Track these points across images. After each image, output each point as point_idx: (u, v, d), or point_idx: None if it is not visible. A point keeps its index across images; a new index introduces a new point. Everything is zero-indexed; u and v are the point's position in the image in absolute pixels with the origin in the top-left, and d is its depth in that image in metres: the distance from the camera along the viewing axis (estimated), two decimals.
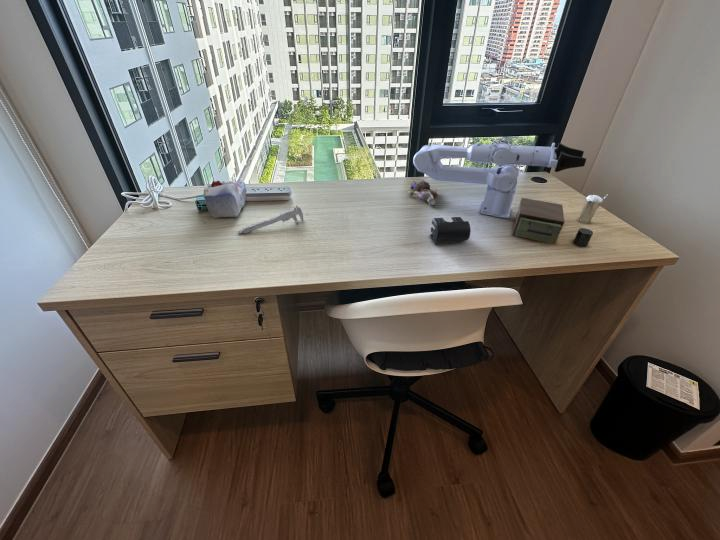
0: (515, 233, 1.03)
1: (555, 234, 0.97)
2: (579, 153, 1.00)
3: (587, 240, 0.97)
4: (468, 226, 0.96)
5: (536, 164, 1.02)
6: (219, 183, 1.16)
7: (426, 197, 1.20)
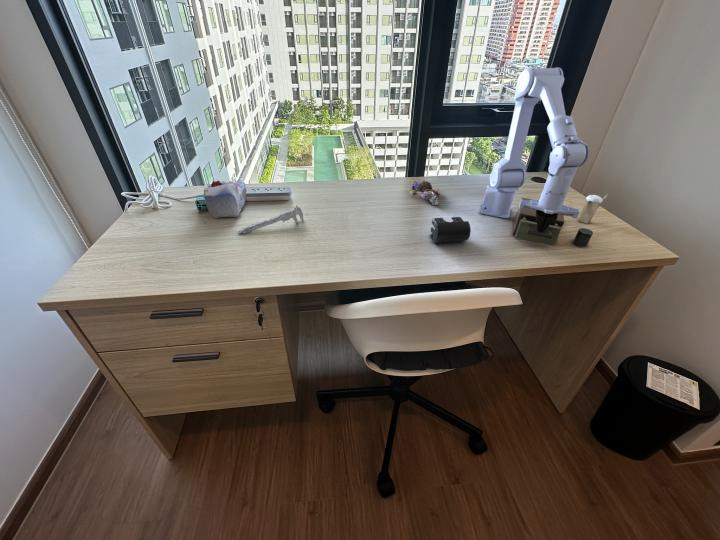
0: (515, 233, 1.03)
1: (555, 236, 0.96)
2: None
3: (587, 240, 0.97)
4: (468, 226, 0.96)
5: None
6: (219, 183, 1.16)
7: (429, 197, 1.20)
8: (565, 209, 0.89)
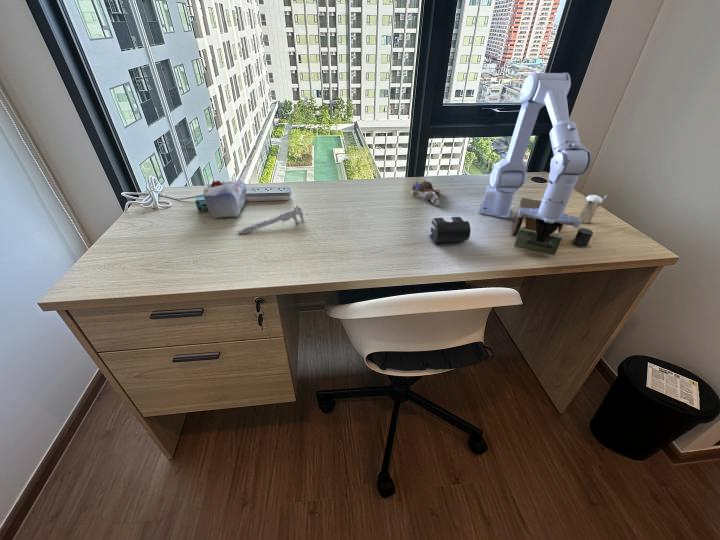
0: (515, 233, 1.03)
1: (556, 246, 0.92)
2: None
3: (587, 240, 0.97)
4: (468, 226, 0.96)
5: None
6: (219, 183, 1.16)
7: (430, 197, 1.20)
8: (566, 218, 0.85)
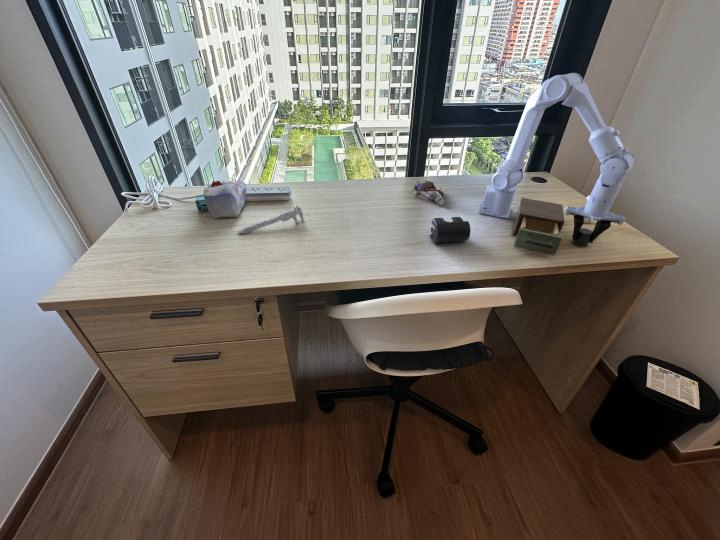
0: (515, 233, 1.03)
1: (556, 246, 0.92)
2: (590, 239, 0.98)
3: (587, 240, 0.97)
4: (468, 226, 0.96)
5: None
6: (219, 183, 1.16)
7: (434, 197, 1.20)
8: (610, 216, 0.93)
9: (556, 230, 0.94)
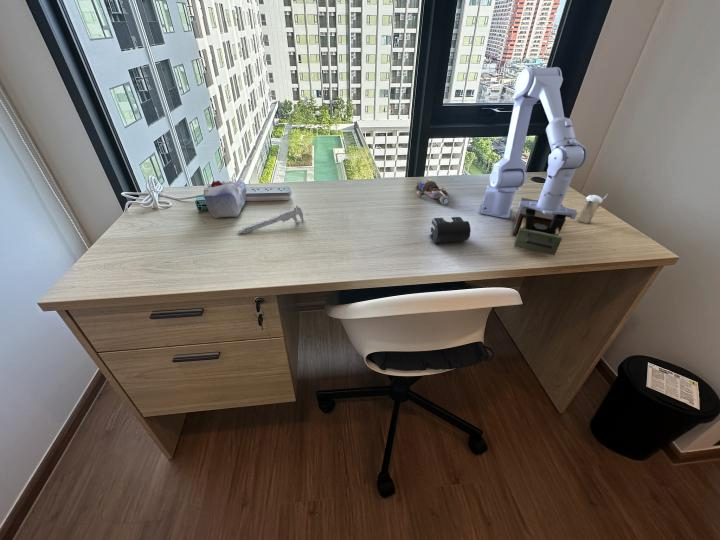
0: (515, 233, 1.03)
1: (556, 246, 0.92)
2: None
3: None
4: (468, 226, 0.96)
5: None
6: (219, 183, 1.16)
7: (438, 196, 1.21)
8: (563, 210, 0.91)
9: (556, 230, 0.94)
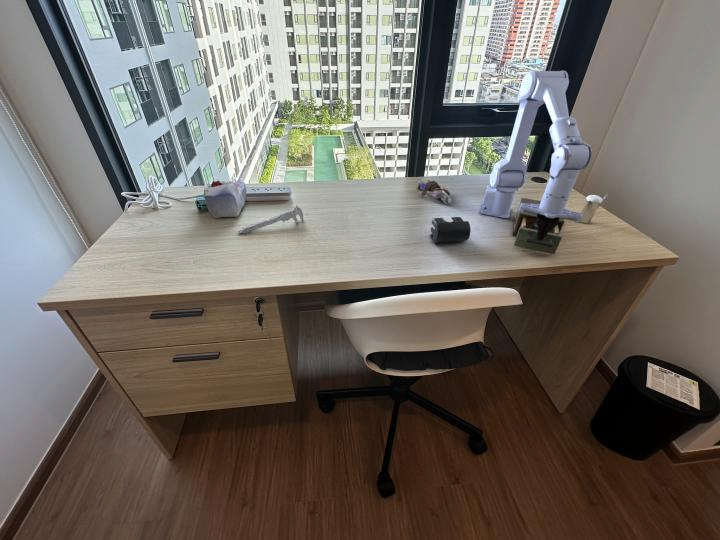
0: (515, 233, 1.03)
1: (556, 245, 0.92)
2: None
3: None
4: (468, 226, 0.96)
5: None
6: (219, 183, 1.16)
7: (441, 196, 1.21)
8: (567, 213, 0.85)
9: (556, 229, 0.94)
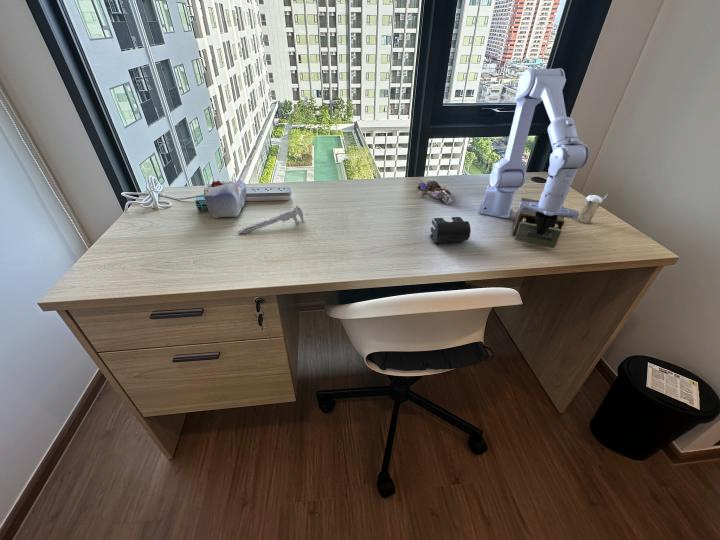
0: (515, 233, 1.03)
1: (555, 239, 0.95)
2: None
3: None
4: (468, 226, 0.96)
5: None
6: (219, 183, 1.16)
7: (441, 196, 1.21)
8: (565, 211, 0.88)
9: (556, 224, 0.97)
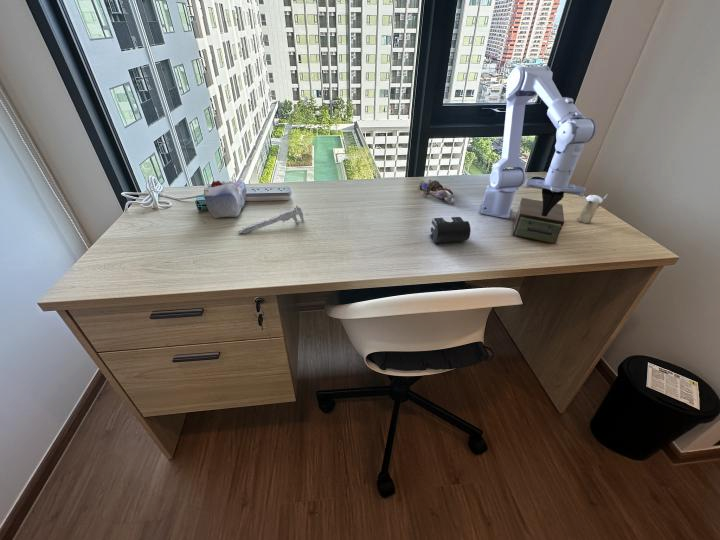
0: None
1: (555, 233, 0.97)
2: None
3: None
4: (468, 226, 0.96)
5: None
6: (219, 183, 1.16)
7: (444, 196, 1.21)
8: (571, 187, 0.88)
9: None
